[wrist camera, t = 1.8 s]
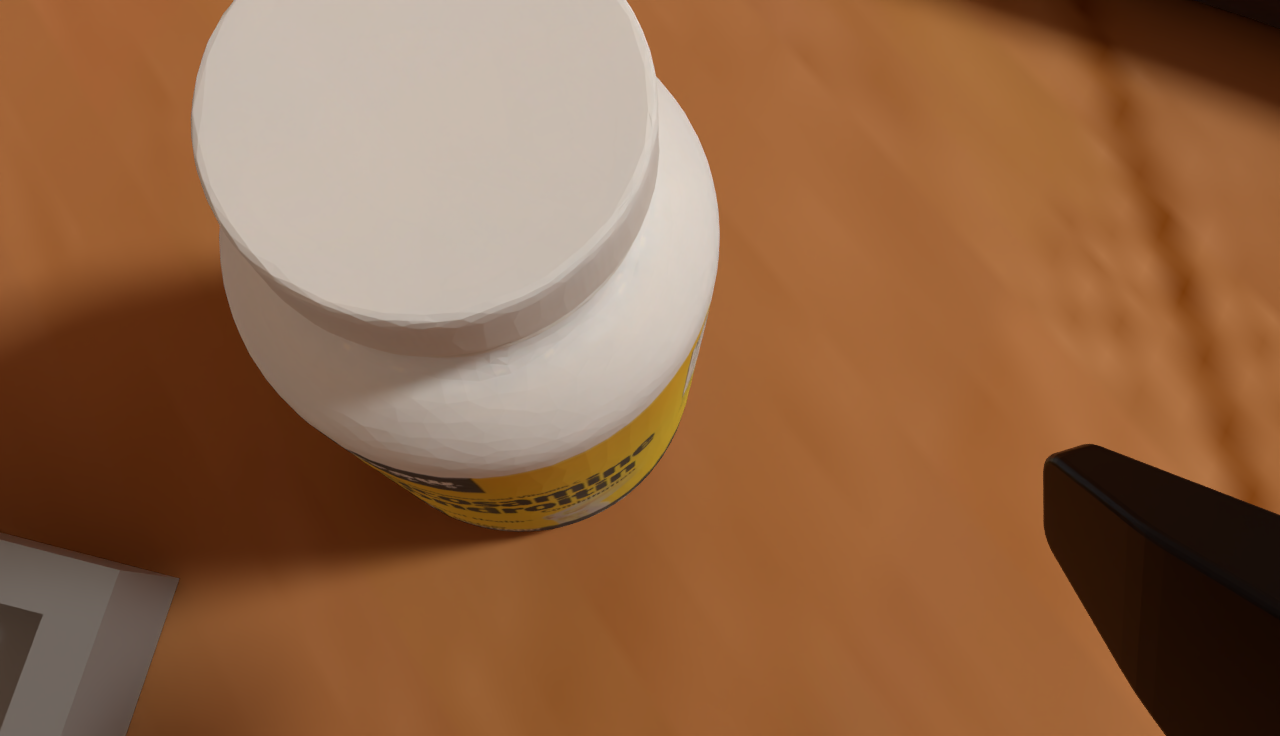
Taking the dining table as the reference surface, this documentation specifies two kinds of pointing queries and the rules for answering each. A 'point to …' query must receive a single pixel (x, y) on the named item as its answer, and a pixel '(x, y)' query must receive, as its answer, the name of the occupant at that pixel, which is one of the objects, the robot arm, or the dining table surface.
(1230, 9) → the diary
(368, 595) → the dining table surface
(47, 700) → the holder tray
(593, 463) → the pill bottle
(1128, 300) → the dining table surface
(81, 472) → the dining table surface
